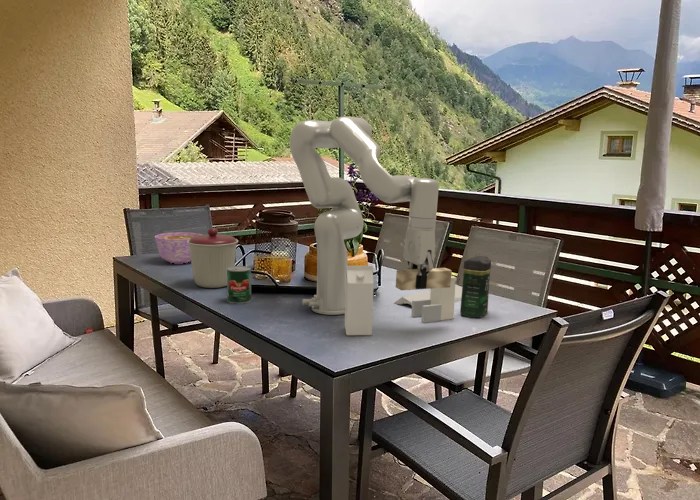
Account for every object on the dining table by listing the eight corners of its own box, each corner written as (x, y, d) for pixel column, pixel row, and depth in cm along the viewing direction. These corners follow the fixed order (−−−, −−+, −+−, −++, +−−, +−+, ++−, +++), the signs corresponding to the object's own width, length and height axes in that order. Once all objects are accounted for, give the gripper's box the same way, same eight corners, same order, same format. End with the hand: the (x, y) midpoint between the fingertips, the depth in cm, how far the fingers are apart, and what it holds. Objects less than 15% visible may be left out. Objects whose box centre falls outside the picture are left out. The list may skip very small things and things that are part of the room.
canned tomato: (245, 296, 203) (244, 264, 201) (255, 301, 196) (255, 269, 194) (223, 299, 198) (222, 267, 196) (233, 305, 192) (232, 271, 190)
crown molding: (421, 312, 190) (422, 302, 189) (393, 304, 198) (393, 294, 198) (474, 298, 210) (474, 288, 209) (446, 291, 218) (446, 282, 218)
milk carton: (344, 327, 171) (346, 263, 168) (369, 327, 172) (371, 263, 168) (346, 335, 164) (348, 268, 161) (372, 335, 165) (374, 268, 161)
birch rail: (401, 290, 165) (402, 273, 164) (395, 287, 168) (396, 270, 167) (450, 287, 171) (451, 270, 170) (443, 284, 175) (445, 267, 174)
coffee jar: (482, 320, 182) (486, 260, 178) (457, 316, 185) (460, 257, 182) (490, 312, 190) (494, 255, 187) (466, 308, 194) (470, 252, 191)
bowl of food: (160, 257, 264) (159, 232, 262) (206, 257, 266) (206, 232, 264) (150, 267, 245) (149, 239, 243) (200, 267, 247) (199, 239, 245)
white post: (423, 322, 178) (425, 280, 175) (411, 316, 184) (413, 275, 182) (455, 319, 182) (457, 277, 180) (442, 312, 189) (444, 272, 186)
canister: (180, 283, 219) (178, 226, 215) (224, 277, 230) (224, 223, 226) (201, 293, 205) (199, 233, 201) (247, 286, 216) (247, 229, 212)
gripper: (396, 218, 171) (392, 280, 175) (425, 228, 156) (420, 295, 160) (419, 218, 174) (414, 278, 178) (449, 228, 159) (443, 293, 163)
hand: (417, 286), depth 169 cm, fingers closed on birch rail, 3 cm apart
